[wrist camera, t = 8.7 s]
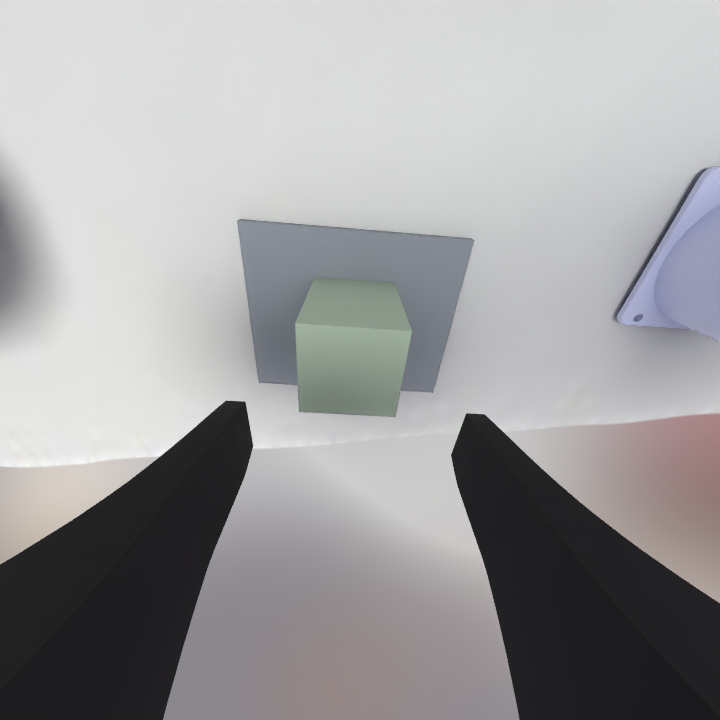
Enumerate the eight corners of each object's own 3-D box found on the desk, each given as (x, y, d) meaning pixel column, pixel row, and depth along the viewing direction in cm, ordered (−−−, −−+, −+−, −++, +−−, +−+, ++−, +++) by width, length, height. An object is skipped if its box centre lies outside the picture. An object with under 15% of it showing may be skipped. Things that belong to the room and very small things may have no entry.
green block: (394, 282, 16) (412, 331, 11) (384, 350, 18) (395, 416, 13) (314, 276, 16) (295, 323, 11) (315, 346, 18) (299, 411, 13)
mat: (470, 238, 15) (474, 240, 15) (431, 388, 21) (433, 392, 20) (240, 219, 15) (237, 220, 14) (260, 378, 20) (258, 382, 20)
